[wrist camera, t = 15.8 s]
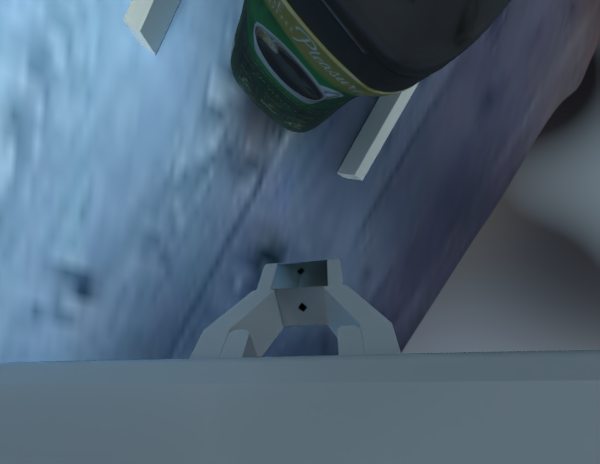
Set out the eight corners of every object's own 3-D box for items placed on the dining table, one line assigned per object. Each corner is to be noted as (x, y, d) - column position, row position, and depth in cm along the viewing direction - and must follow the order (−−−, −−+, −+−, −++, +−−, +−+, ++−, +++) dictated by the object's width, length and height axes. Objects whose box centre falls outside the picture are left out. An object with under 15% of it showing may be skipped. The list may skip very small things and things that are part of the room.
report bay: (343, 177, 27) (362, 180, 24) (142, 46, 20) (123, 20, 16) (415, 51, 26) (447, 32, 22) (227, -143, 18) (227, -220, 15)
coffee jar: (348, 81, 25) (628, -98, 8) (299, 146, 25) (460, 116, 8) (270, -9, 21) (467, -739, 4) (214, 69, 22) (172, -292, 4)
